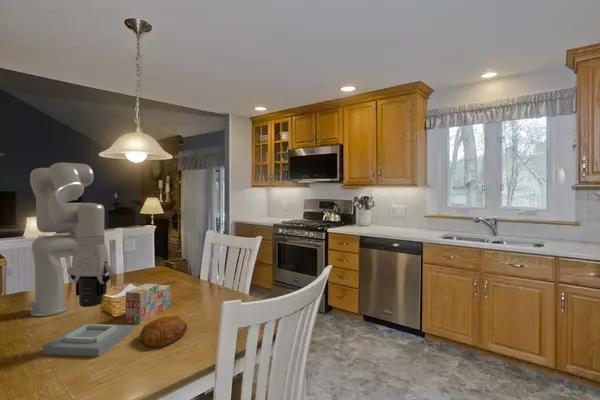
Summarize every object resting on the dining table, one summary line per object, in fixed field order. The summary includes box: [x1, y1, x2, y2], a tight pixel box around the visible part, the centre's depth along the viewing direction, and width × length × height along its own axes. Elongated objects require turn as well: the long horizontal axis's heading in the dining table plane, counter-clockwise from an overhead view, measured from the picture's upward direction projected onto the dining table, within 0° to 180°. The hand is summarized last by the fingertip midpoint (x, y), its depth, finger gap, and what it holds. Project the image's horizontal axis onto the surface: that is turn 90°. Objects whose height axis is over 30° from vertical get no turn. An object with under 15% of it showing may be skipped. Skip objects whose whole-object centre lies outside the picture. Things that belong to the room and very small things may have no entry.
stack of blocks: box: [125, 283, 171, 325], centre depth 137 cm, size 21×6×12 cm, turn 171°
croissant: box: [139, 315, 188, 348], centre depth 114 cm, size 14×16×8 cm
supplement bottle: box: [78, 277, 104, 308], centre depth 110 cm, size 7×7×12 cm
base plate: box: [42, 323, 134, 357], centre depth 110 cm, size 18×18×4 cm
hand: (91, 294), depth 110 cm, fingers closed on supplement bottle, 6 cm apart
